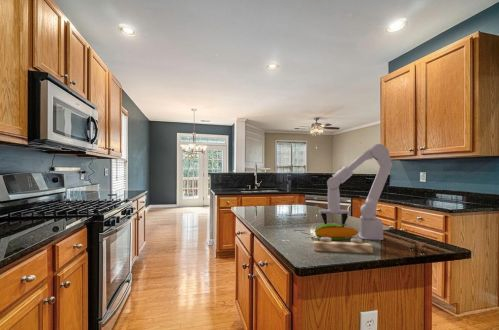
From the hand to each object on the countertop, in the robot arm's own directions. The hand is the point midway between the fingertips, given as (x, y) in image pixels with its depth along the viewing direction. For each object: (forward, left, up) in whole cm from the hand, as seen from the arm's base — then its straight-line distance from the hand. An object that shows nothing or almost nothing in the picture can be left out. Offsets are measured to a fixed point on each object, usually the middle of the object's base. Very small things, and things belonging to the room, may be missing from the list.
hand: (334, 228), depth 124 cm
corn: (0, +8, -3) cm, 9 cm away
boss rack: (0, +23, -3) cm, 23 cm away
